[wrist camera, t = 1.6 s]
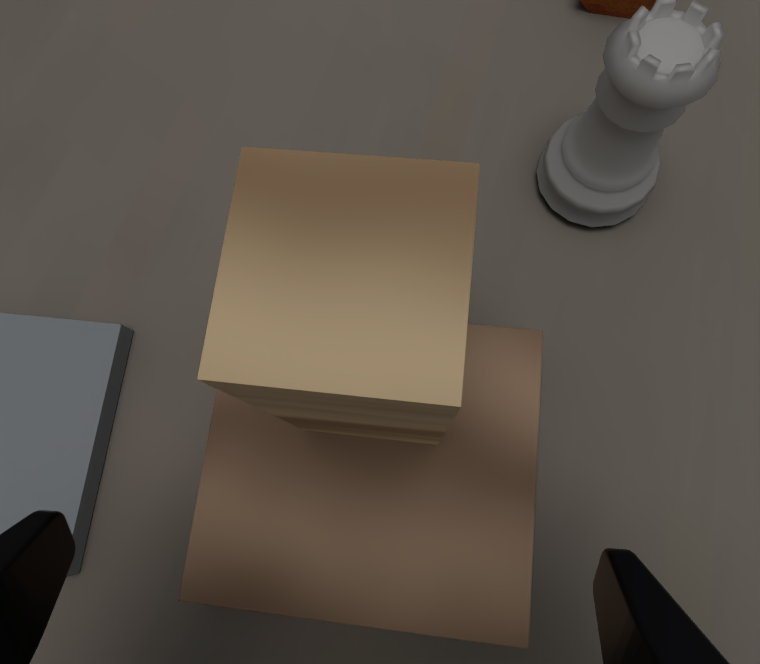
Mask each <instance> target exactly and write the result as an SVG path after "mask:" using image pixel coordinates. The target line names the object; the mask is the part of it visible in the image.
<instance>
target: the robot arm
mask: <svg viewBox="0 0 760 664" xmlns="http://www.w3.org/2000/svg"><path fill="white" fill-rule="evenodd" d="M75 550H76V545H75V540H74V538H73V535H72V533H71V530H70V528H69V525H68V523H67V520H66V518H65V516H64V514H63V513H61V512H59V511H49V510H38V511H35V512H33V513H31V514H29V515H28V516H26V517H25V518H23V519H22V520H21V521H19V522H18V523H16V524H15V525H13V526H12V527H10V528H9V529H7V530H6V531H4V532H3V533H1V534H0V664H29V663H30V661H31V659H32V657H33V655H34V653H35V651H36V649H37V647H38V645H39V643H40V640H41V638H42V636H43V633H44V631H45V629H46V626H47V624H48V621H49V619H50V616H51V614H52V611H53V609H54V606H55V604H56V601H57V599H58V596H59V594H60V591H61V589H62V586H63V584H64V581H65V579H66V576H67V574H68V571H69V569H70V566H71V564H72V561H73V559H74V556H75ZM593 595H594V602H595V609H596V616H597V623H598V630H599V636H600V643H601V650H602V657H603V664H729V662H728V661H727V660H726V659H725V658H724V657H723V655H722V654H721V653H720V652H719V651H718V650H717V649H716V647H715V646H714V645H713V644H712V643H711V642H710V640H709V639H708V638H707V637H706V636H705V635H704V633H703V632H702V631H701V630H700V629H699V628H698V627H697V625H696V624H695V623H694V622H693V621H692V620H691V618H690V617H689V616H688V615H687V614H686V613H685V612H684V610H683V609H682V608H681V607H680V606H679V605H678V603H677V602H676V601H675V600H674V599H673V598H672V596H671V595H670V594H669V593H668V592H667V591H666V590H665V588H664V587H663V586H662V585H661V584H660V583H659V581H658V580H657V579H656V578H655V577H654V576H653V575H652V573H651V572H650V571H649V570H648V569H647V568H646V566H645V565H644V564H643V563H642V562H641V561H640V559H639V558H638V557H637V556H636V555H635V554H634V553H633V552H631V551H630V550H626V549H612V548H607V549H605V550H604V551H603V552H602V554H601V558H600V561H599V564H598V568H597V571H596V574H595V578H594V582H593Z"/></svg>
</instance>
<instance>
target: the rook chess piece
mask: <svg viewBox="0 0 760 664" xmlns="http://www.w3.org/2000/svg"><path fill="white" fill-rule="evenodd" d="M675 5H676V0H656V2H655V4H654V6H653V8H652V10H651V11H649V10H648V9H646V8H645V7H644V6H643V5H642V6H641V7H640V8H639V9H638V10H637V12H636V13H635V14H634V15H633V16H632V18H630V19H628V20H626V21H624V22H622V23H620V24H619V25H618V27H617V28H616V29H615V30H614V31H613V32H612V33H611V35H610V36H609V37H608V38H607V42H606V46H605V49H604V53H603V59H604V64H605V69H604V71H603V72H602V73H601V74H600V75H599V78H598V82H597V85H596V89H595V92H596V99H595V100H594V101H593V103H592V104H591V106H590V107H589V108H588V110H587V111H586V112H584V113H581V114H579V115H577V116H576V117H574V118H572V119H570V120H568V121H566V122H565V123H564V124H563V125H562V126H561V127H560V128H559V129H558V130H557V131H556V132H555V134H554V135H553V136H552V137H551V138H550V139H549V140H548V143H547V147H546V148H545V149H544V151H543V152H542V153H541V157H540V160H539V164H538V167H537V171H536V172H537V178H538V184H539V190H540V192H541V194H542V195H543V197H544V198H545V200H546V201H547V203H548V204H549V206H550V207H551V209H553V210H554V211H555V212H557V213H558V214H560V215H561V216H563V217H564V218H565V219H567V220H568V221H570V222H574V223H578V224H582V225H585V226H589V227H599V226H610V225H616V224H618V223H620V222H622V221H624V220H626V219H627V218H629V217H631V216H633V215H635V213H636V212H637V211H638V210H639V208H640V207H641V206H642V205H643V204H644V202H645V201H646V200H647V197H648V194H649V193H650V192H651V191H652V190H653V188H654V186H655V182H656V178H657V174H658V169H659V165H660V160H659V155H658V153H659V149H658V145H657V144H658V142H659V140H660V138H661V135H662V133H663V131H664V129H665V128H666V127H668V126H670V125H672V124H674V123H675V122H676V121H677V120H678V119H679V118H680V116H681V115H682V114H683V113H684V112H685V109H686V105H688V104H690V103H692V102H694V101H696V100H698V99H700V98H702V97H704V96H705V95H706V93H707V92H708V91H709V90H710V89H711V87H712V86H713V85H714V84H715V82H716V81H717V77H718V72H719V68H720V63H721V62H720V58H719V54H720V52H721V51H719V50H717V46H718V45H719V43H720V42H721V41H722V39H723V38H724V34H723V30H722V26H721V23H720V22H716V23H713V24H710V25H709V27H708V28H707V27H706V26H705V25H704V24H703V23H702V20H703V18H704V16H705V15H706V13H707V11H708V10H709V8H708V7H706V6H704V5H703V4H701V3H699V2H697V1H696V0H693V2H692V3H691V5H690V7H689V9H688V10H687V12H682V11H677V10H673V8H674V6H675Z"/></svg>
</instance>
